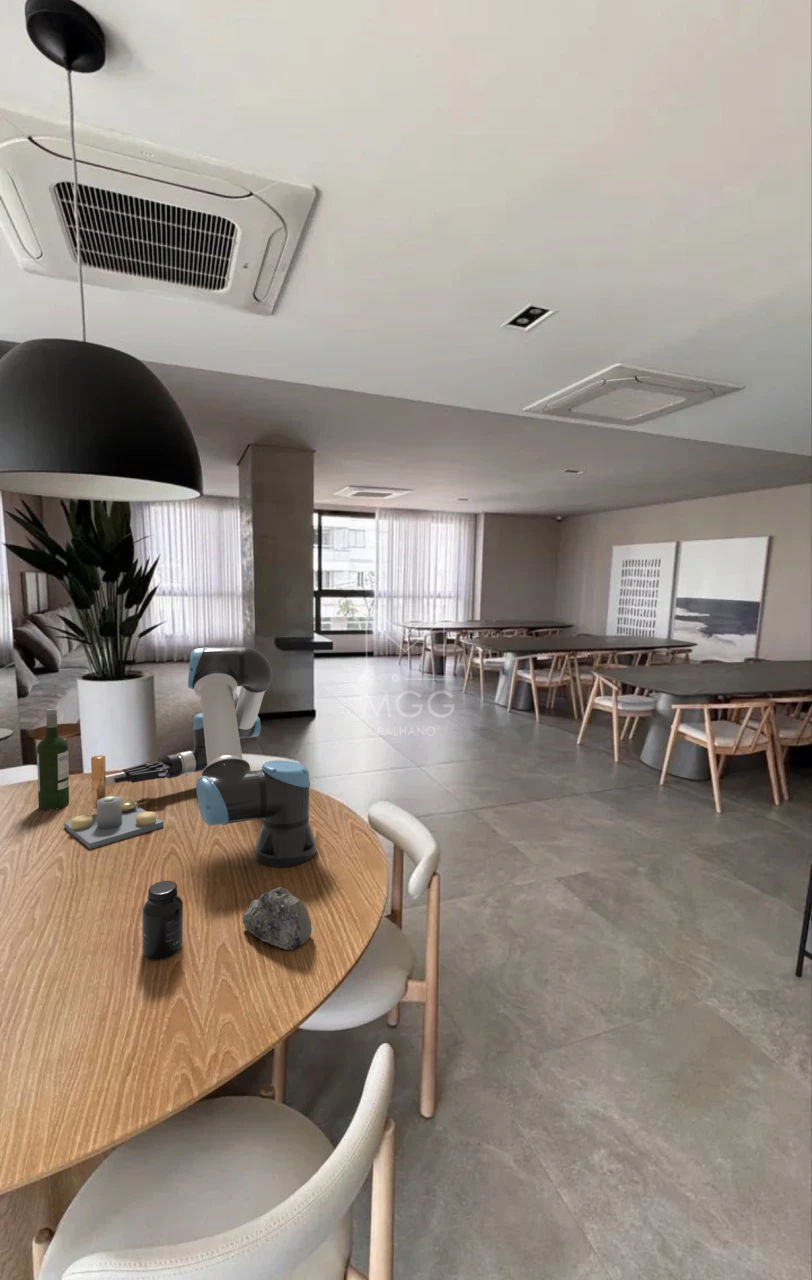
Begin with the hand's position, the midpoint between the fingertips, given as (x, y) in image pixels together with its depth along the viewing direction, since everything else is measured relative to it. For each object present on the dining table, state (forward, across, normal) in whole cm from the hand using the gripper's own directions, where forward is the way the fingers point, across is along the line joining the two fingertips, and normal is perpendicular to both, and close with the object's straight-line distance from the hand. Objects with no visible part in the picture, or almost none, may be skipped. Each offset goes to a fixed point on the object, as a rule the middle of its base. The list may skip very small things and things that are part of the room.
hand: (101, 781), depth 163 cm
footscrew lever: (-1, -6, -7) cm, 9 cm away
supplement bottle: (+18, -77, -9) cm, 79 cm away
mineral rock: (+1, -88, -9) cm, 89 cm away
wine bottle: (+8, +15, -9) cm, 20 cm away
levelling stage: (+2, -14, -9) cm, 17 cm away
